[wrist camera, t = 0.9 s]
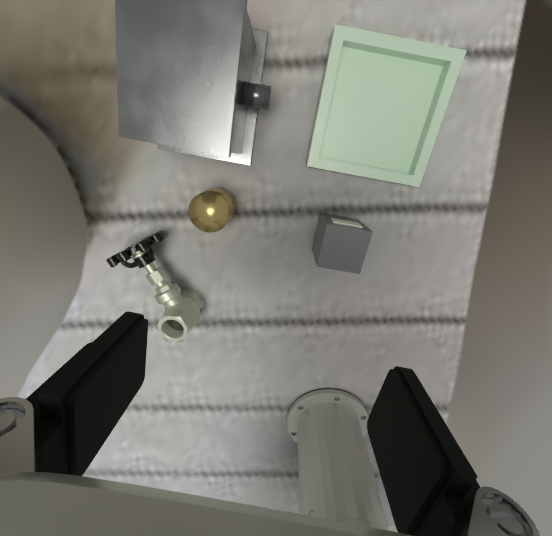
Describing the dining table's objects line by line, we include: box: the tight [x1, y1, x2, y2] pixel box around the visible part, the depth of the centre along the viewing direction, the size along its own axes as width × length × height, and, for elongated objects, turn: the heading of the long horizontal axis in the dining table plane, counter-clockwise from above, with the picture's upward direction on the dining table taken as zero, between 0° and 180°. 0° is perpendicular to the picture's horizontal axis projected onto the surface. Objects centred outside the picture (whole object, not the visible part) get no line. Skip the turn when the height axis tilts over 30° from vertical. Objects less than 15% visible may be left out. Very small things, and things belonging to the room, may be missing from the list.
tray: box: [306, 24, 466, 187], centre depth 28 cm, size 12×12×2 cm
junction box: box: [115, 0, 271, 165], centre depth 25 cm, size 12×11×10 cm
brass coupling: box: [189, 188, 236, 232], centre depth 31 cm, size 4×4×5 cm
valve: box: [106, 231, 205, 342], centre depth 34 cm, size 7×7×12 cm
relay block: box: [312, 213, 372, 274], centre depth 31 cm, size 5×4×6 cm
